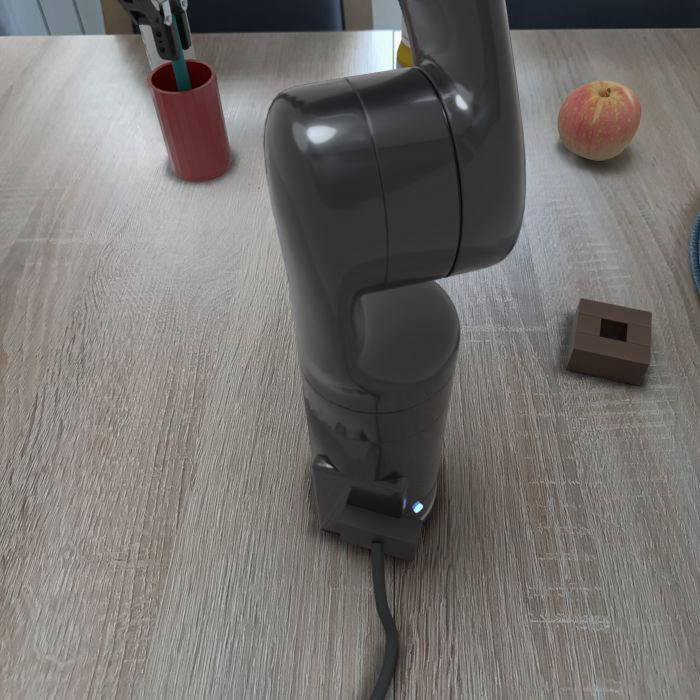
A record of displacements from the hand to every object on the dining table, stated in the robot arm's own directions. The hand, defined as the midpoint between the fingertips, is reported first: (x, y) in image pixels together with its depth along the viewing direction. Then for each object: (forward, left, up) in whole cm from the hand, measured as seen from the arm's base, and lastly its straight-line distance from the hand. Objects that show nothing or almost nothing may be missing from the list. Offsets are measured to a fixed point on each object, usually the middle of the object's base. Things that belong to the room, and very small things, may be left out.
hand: (176, 52), depth 68 cm
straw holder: (-16, -48, -14) cm, 52 cm away
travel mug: (+17, +12, -14) cm, 25 cm away
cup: (0, 0, -14) cm, 14 cm away
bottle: (+13, -24, -14) cm, 31 cm away
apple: (+15, -44, -14) cm, 48 cm away
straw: (0, 0, -11) cm, 11 cm away
